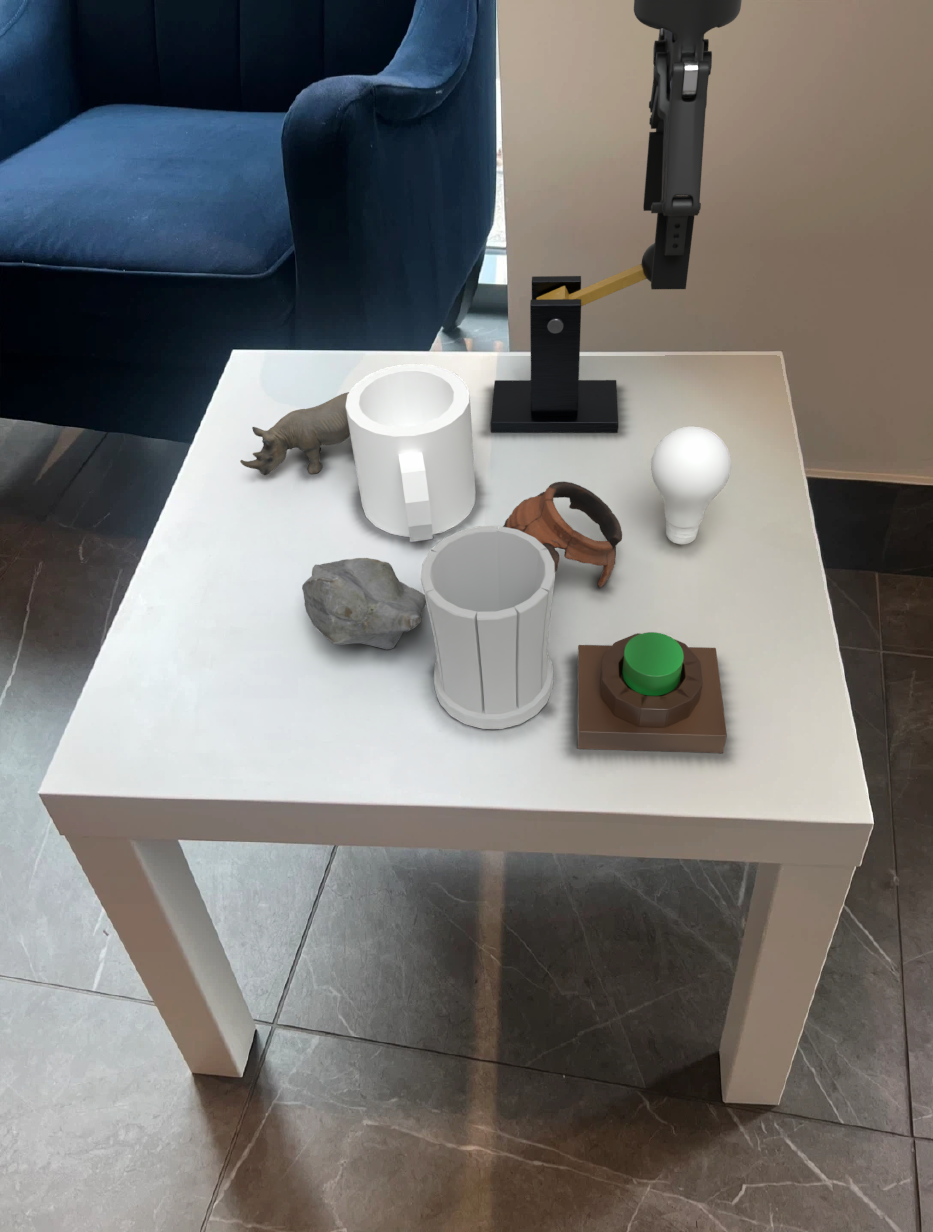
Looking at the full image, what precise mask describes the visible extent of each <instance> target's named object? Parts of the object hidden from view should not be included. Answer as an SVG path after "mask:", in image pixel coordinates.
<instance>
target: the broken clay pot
mask: <svg viewBox="0 0 933 1232" xmlns="http://www.w3.org/2000/svg"><path fill="white" fill-rule="evenodd" d="M559 498H561V499H562V498H567V499H569V503H570V504H569V506H568V508H569V509H571V510H577V511H580V512H582V513H584V514H585V515H586V516H587V517H588V518H589V519H590V520H591V521H592V522H594V523H595V524H597V525H598V528H599V530H600V532H601V534H602V535H603V537H604V538H605V540H596V539H592V538H590V537H588V536H586V535H584V534H583V533H581V532H579V531H577V530H575V529H574V528H573V527H572V526H571V525H570V524H568V522H567V521H566V520H565V519H564V518H563V516H562V515H561V514H560V513H559V511H558V509H557V507H556V505H555V502H554V499H559ZM502 527H507V528H512V529H517V530H520V531H522V532H524V533H526V534H528V535H530V536H532V537H534V538H536V539H537V540H538V541H539V542H540V543H541V544H543V545H544V546H545V547H546V548H547V550H548V551H549V553H550V555H551V557H552V559H553V561H554V565H555V573H557V571H558V568H559V563H560V553H559V551H558V550H557V549H561V550H564V554H563V556H564V558H565V559H567V560H571V561H576V562H578V563H581V564H590V565H594V566H601V567H603V568H602V573H601V575H600V577H599V579H598V580H597V585H598V587H599V588H602V587H603V586H604V585H606V583H607V581H608V579H609V578H610V577H611V575H612V572H613V570H614V568H615V565H616V560H617V559H616V558H617V546H618V545H619V543H620V542H621V541H622V540H623V531H622V525H621V524H620V521H619V520H618V517H617V516H616V515H615V513H613V510H612V509H611V508H610V507H609V505H608V504H607V503H605V502H604V501H603V500H602V499H601V498H600V496H597V495H596V494H595V493H594V492H592V491H591V490H589V489H587V488H585V487H584V486H581V485H580V484H576V483H574V482H569V481H556V482H553V483H551V484H549V486H547V488H546V489H545V491H543V492H541V493H539V494H538V495H535V496H530V497H529V498H527V499H524V500H522V501H521V502H520V503H519V504H518V505H517V506H516V507H515V508H514V509H513V510H512V512H511V514H510V515H509V516H508V517H507V519H506V520H505V522H504V524H503V526H502Z"/></svg>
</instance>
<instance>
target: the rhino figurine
mask: <svg viewBox="0 0 933 1232" xmlns="http://www.w3.org/2000/svg"><path fill="white" fill-rule="evenodd" d="M349 392H350V391H347V392H343V393H341V394H339V395H337V396H335V397H333V398H331V399H329V400H327V401H325V402H324V403H321V404H318V405H316V406H313V407H308V408H299V409H295V410H292V411H290V412H288V413H287V414H285V415H284V416H282V417H281V418H280V419H279V420H278V421H276V423H275V424H274V425H272V426H271V427H270V428H269V429H268V430H264V429H262V428H259V427H256V426H252V427H251V429H252V432H253V434H254V435H255V436H257V437H259V438H262V440H261V442H262V444H263V446H262V448H261V450H260V451H256V452H252V455H253V457H255V458H256V459H252V460H249V461H247V460H243V459H240V460H239V462H240V464H241V465H242V466H244V467H245V468H249V469H253V470H257V471H259V473H260V474H261V475H262V476H265V477H266V476H269V474H270V473H272V472H273V471H274V470H276V469H277V468H278V467H279V466H280V465H281V464H282V463H283V462H284V461H285V459H286V458H287V453H288V450H293V449H299V450H300V451H303V453H304V455H305V456H306V457H307V458H308V461H309V462H308V464H307V466H306V469H307V472H308V474H310V475H314V474H318V473H319V472H320V471H321V470H322V469H323V464H322V462H321V461H320V458H321V453H322V447H321V446H325V447H327V446H334V445H338V444H341V443H342V442H344V441H346V440H347V439H348V438H349V437H351V436H350V430H349V424H348V418H347V412H346V400H347V395H348V393H349Z"/></svg>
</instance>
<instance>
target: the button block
mask: <svg viewBox="0 0 933 1232" xmlns="http://www.w3.org/2000/svg"><path fill="white" fill-rule="evenodd" d="M639 634H641V633H640V632H639V633H634V634H631V635H630V636H627V637H624V638H622V639H620V640H617V641H615V642H614V643H612V645H609V644H608V645H605V644H604V645H601V644H578V648H577V649H578V650H577V749H579V750H609V751H614V750H615V751H641V752H642V751H643V752H645V751H646V752H672V753H673V752H677V753H709V754H714V753H715V754H723V753H724V750H725V746H726V742H727V737H728V734H727V727H726V718H725V717H726V716H725V710H724V703H723V693H722V687H721V678H720V670H719V663H718V655H717V648H716V647H700V646H699V647H697V646H688V645H687V644H686V643H684V642H682V641H680V640H678V639H675V638H673V639H674V640H675V641H676V642H677V643H678V644H679V645H680V646H681V648H682V650H683V655H684V658H683V664H682V671H681V677H680V681H679V683H678V685H677V686H676V688H675V689H674V690H672V691H671V692H669V693H667V694H664V695H660V696H647V695H643V694H640V693H638V692H636V691H634V690H633V689H631V688H630V687H629V686H628V685H627V684H626V682H625V680H624V678H623V673H622V671H623V660H624V650H625V647H626V645H627V643H628V642H629V641H630V640H631V639H632V638H633V637H635V636H637V635H639Z"/></svg>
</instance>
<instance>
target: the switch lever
mask: <svg viewBox="0 0 933 1232" xmlns="http://www.w3.org/2000/svg"><path fill="white" fill-rule="evenodd" d="M654 246H655V242H653V243H652V244H650V245H649V246H648V247H647V248H646V249H645V251H644V252H643V255H642V257H641V263H639V264H637V265H633V266H632V267H630V268H627V269H625V270H623V271H620V272H618V273H616V274H614V275H611V276H609V277H607V278H604V279H601V280H600V281H597V282H595V283H592V284H591V285H587V286H586V287H583V288H581V290H579V291H576V292H574V293H572V294H569V293H568V291H567V289H566V287H565V286H562V287H560V288H558V289H555V290H553V291H551V292H549V293H546V294H544V295H542V296H539V297H537V300H542V299H581V307H583V306H586V305H588V304H590V303H592V302H595V301H597V300H600V299H602V298H604V297H607V296H610V295H611V294H614V293H617V292H619V291H621V290H623V289H626V288H628V287H630V286H633V285H635V284H638V283H640V282H642V281H645V280H647V281H649V282H650V283H651V278H652V268H653V257H654Z"/></svg>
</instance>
